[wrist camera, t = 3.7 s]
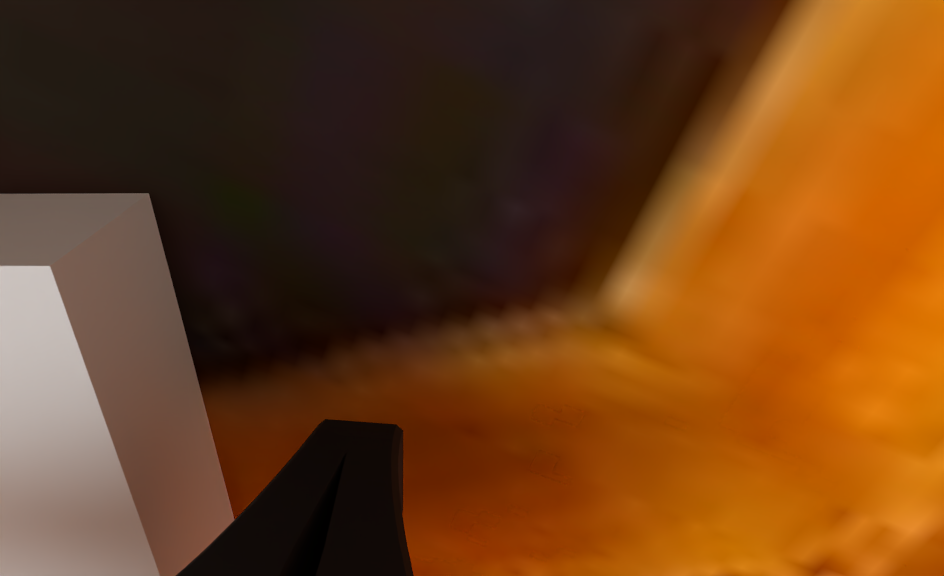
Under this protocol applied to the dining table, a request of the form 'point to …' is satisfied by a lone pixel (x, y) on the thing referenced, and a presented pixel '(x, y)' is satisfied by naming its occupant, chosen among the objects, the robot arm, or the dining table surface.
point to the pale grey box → (98, 396)
